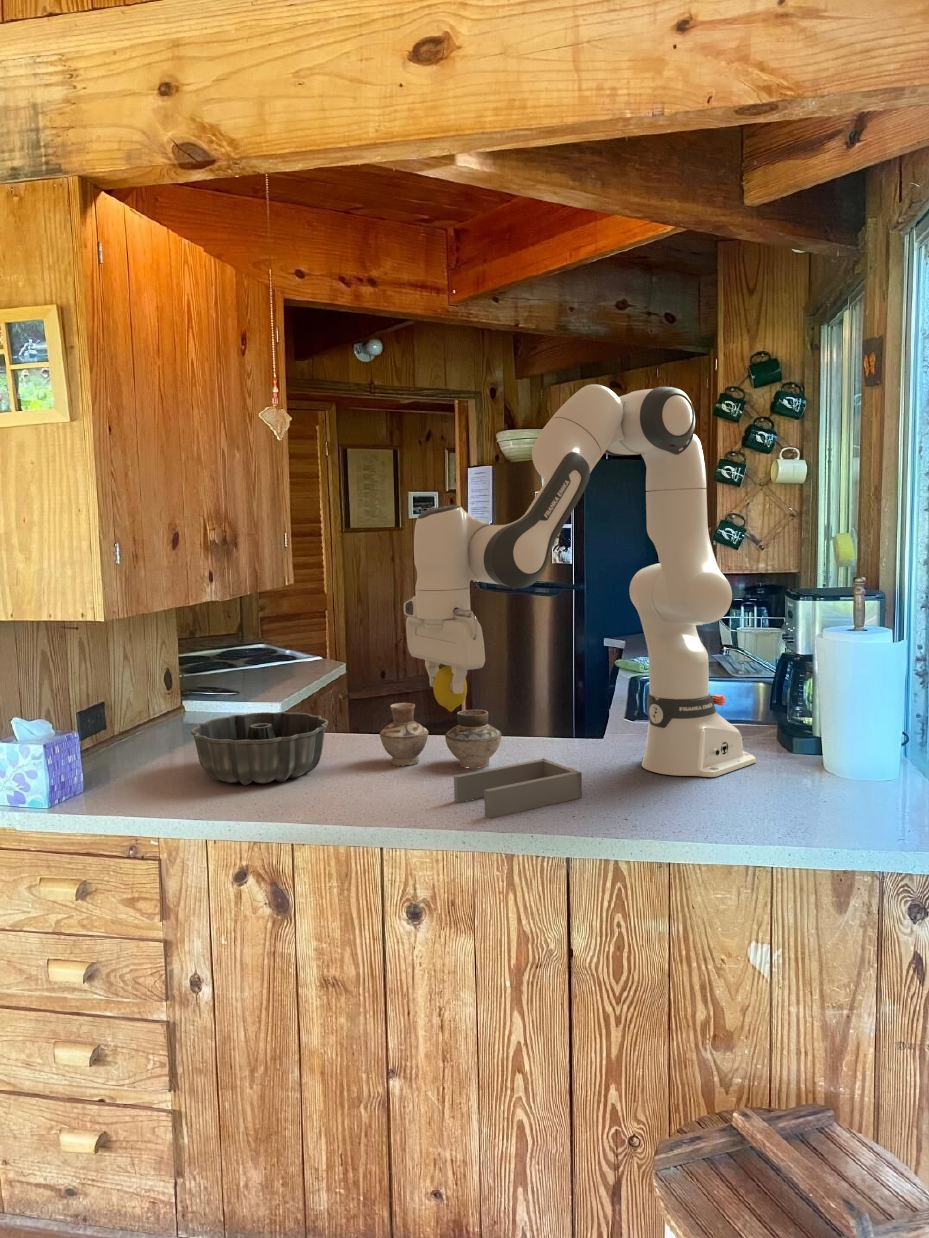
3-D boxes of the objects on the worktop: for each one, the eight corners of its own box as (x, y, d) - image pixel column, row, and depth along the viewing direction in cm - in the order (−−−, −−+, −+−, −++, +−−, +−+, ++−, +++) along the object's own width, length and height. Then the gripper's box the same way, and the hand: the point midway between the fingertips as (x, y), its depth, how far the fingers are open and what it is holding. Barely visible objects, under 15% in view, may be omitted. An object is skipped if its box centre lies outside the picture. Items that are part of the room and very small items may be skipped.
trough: (544, 782, 169) (543, 758, 169) (581, 797, 160) (581, 772, 159) (454, 800, 160) (453, 775, 160) (488, 818, 150) (487, 791, 150)
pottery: (390, 755, 193) (387, 699, 192) (507, 758, 188) (505, 701, 186) (372, 770, 182) (370, 710, 181) (496, 773, 177) (494, 712, 175)
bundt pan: (324, 752, 198) (321, 706, 197) (337, 785, 173) (334, 733, 172) (196, 763, 192) (193, 716, 191) (191, 799, 166) (187, 745, 165)
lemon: (464, 715, 148) (463, 666, 148) (431, 715, 149) (429, 666, 149) (470, 708, 154) (468, 660, 153) (438, 707, 155) (436, 661, 154)
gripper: (493, 609, 142) (496, 697, 143) (431, 601, 160) (434, 679, 161) (457, 612, 139) (461, 702, 140) (398, 603, 157) (402, 683, 158)
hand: (446, 690), depth 151 cm, fingers closed on lemon, 5 cm apart
